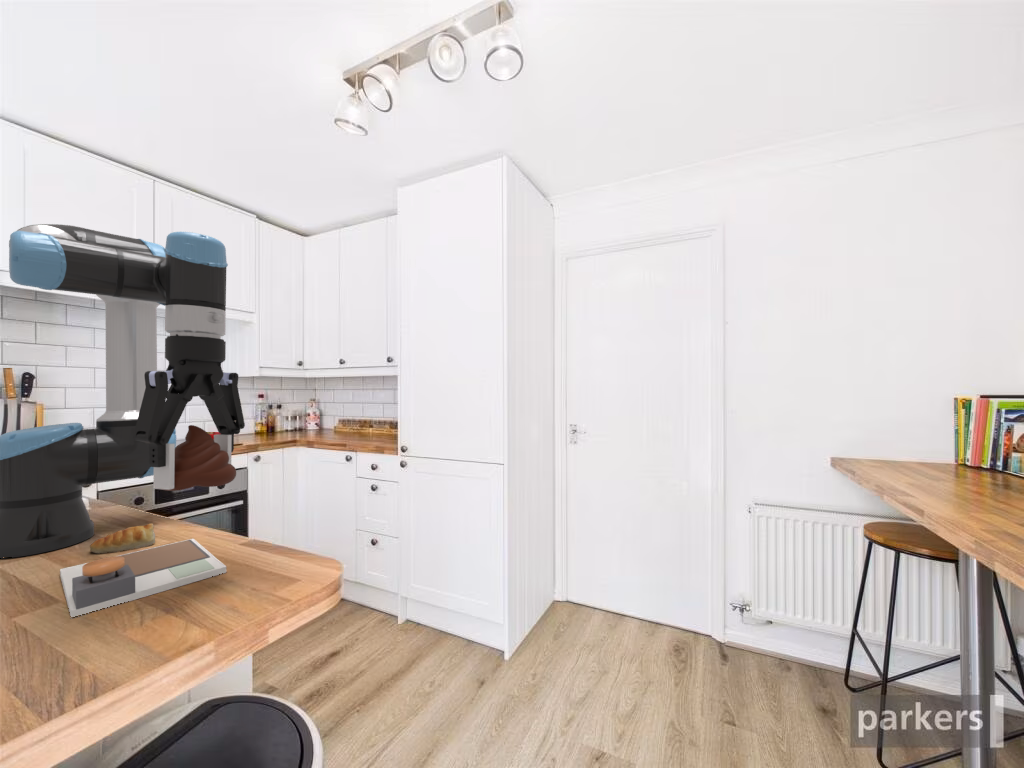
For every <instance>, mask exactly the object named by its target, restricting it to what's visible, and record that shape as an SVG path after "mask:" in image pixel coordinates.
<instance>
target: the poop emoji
mask: <svg viewBox="0 0 1024 768" xmlns="http://www.w3.org/2000/svg"><path fill="white" fill-rule="evenodd" d="M187 428H188V430H187V432H186V434H185V437H184V439H185V441H183V442H181V443H179V444H177V445H176V448H175V467H174V489H170V490H165V489H161V490H163V491H169V492H171V491H173V492H175V491H176V492H177V491H182V490H188V489H192V488H195V487H203V488H205V487H206V488H209V487H210V488H212V487H213V488H214V487H220V486H225V485H228V484H229V483H231V482H233V481H234V480H235V478H236V477H237V470H236V468H235V466H234V465H233V464H232V463H231V464H229V463H228V462H229V455H228V453H227V452H226V451H223V450H220V449H221V448H220V445H219V444H218V443H216V442H214V438H213V437H212V436H211V434H210V433H208V432H207V431H206V430H204V429H203V428H201V427H199V426H197V425H193V424H191V425H190V424H189V425H188V427H187Z"/></svg>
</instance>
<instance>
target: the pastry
mask: <svg viewBox="0 0 1024 768" xmlns="http://www.w3.org/2000/svg"><path fill="white" fill-rule="evenodd" d="M154 527H155V526H154V523H148V524H146V525H136V526H129V527H126V528H125V529H120V530H117V531H115V532H113V533H110V534H108V535H106V536H103V537H100V538H99V539H96V540H95V541H94V542H93V543H91V544H90V545H89V548H90V549H89V551H90V552H92V553H94V554H100V553H102V554H108V553H107V552H109V553H118V552H117V551H120V552H124V551H123V550H125V551H130V550H129V549H131V550H135V549H134V548H136V549H141V547H142V548H145V547H146V548H147V547H150V546H153V545H154V544H155V543H156V542H155V541H156V534H155V532H154ZM153 543H154V544H153ZM152 544H153V545H152Z"/></svg>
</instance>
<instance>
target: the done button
mask: <svg viewBox="0 0 1024 768" xmlns="http://www.w3.org/2000/svg"><path fill="white" fill-rule="evenodd" d="M86 563H87V564H85V563H84V564H85V565H84V566H83V567H82V575H83V576H92V583H96V582H100V581H104V580H107V579H111V578H115V571H117V570H119V569H121V568H122V567H124V565H125V558H124V557H121V556H119V555H115V556H107V557H103V558H99V559H95V560H92V561H89V562H86Z"/></svg>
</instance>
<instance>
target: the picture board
mask: <svg viewBox="0 0 1024 768" xmlns="http://www.w3.org/2000/svg"><path fill="white" fill-rule="evenodd" d="M118 556H121V557H124V558H125V565H124V567H122V568H121V569H119V570H117V571H115V578H111V579H107V580H104V581H100V582H96V583H92V576H83V575H82V567H83V566H84V565H85V564H87V563H88V562H86V563H81V564H77V565H72V566H68V567H64V568H60V569H59V576H60V577H59V578H60V580H61V584H62V588H63V593H64V596H65V599H66V600H65V601H66V604H67V609H68V608H69V609H68V612H70V613H69V616H71V617H75V616H78V615H81V616H83V615H82V614H85V615H87V614H86V613H88V614H90V613H89V612H92V611H95V612H97V611H96V610H98V611H101V610H100V609H102V608H105V609H108V608H111V607H110V606H112V607H114V606H113V605H115V606H118V605H117V604H119V605H121V604H120V603H122V604H125V603H129V602H133V601H135V600H138V599H141V598H145V597H146V598H147V597H149V596H151V595H155V594H158V593H162V592H166V591H168V590H172V589H175V588H179V587H182V586H186V585H189V584H193V583H195V582H198V581H202V580H205V579H210V578H212V576H213V577H216V576H219V574H220V575H223V574H226V573H227V565H225V564H224V563H223V562H222V561H220V560H219V559H218V558H217V557H216V556H214V554H213V553H212V552H210V551H209V550H207V548H205V547H204V546H203V545H202V544H200V543H199V542H198V540H196V539H195V538H190V539H186V540H181V541H176V542H172V543H167V544H164V545H163V544H162V545H158V546H155V547H154V546H153V547H149V548H147V549H143V550H142V549H141V550H138V551H132V552H129V553H124V554H120V555H118ZM222 573H223V574H222ZM128 601H129V602H128ZM124 602H125V603H124ZM107 607H108V608H107ZM102 610H103V609H102ZM92 613H93V612H92ZM71 617H70V618H71ZM78 617H79V616H78ZM75 618H76V617H75Z"/></svg>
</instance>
